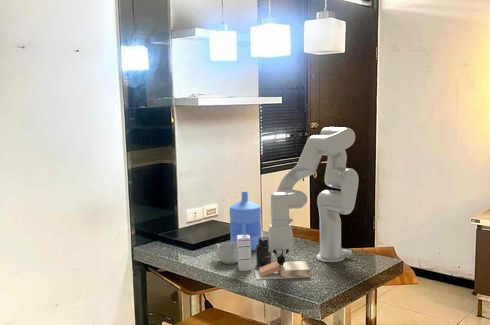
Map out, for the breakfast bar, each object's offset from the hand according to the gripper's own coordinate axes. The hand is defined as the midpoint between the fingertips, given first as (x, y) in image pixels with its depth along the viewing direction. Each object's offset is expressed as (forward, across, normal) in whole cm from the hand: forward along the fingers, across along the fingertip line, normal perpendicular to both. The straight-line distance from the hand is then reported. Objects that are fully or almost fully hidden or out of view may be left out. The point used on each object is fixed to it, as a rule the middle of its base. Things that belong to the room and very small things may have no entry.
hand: (281, 264), depth 207 cm
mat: (+4, 0, 0) cm, 4 cm away
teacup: (+4, +22, -20) cm, 30 cm away
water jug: (+4, +12, -41) cm, 43 cm away
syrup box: (+4, +15, -9) cm, 18 cm away
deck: (+4, -5, 0) cm, 7 cm away
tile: (+2, +5, 0) cm, 5 cm away
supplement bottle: (+4, +6, -13) cm, 15 cm away
